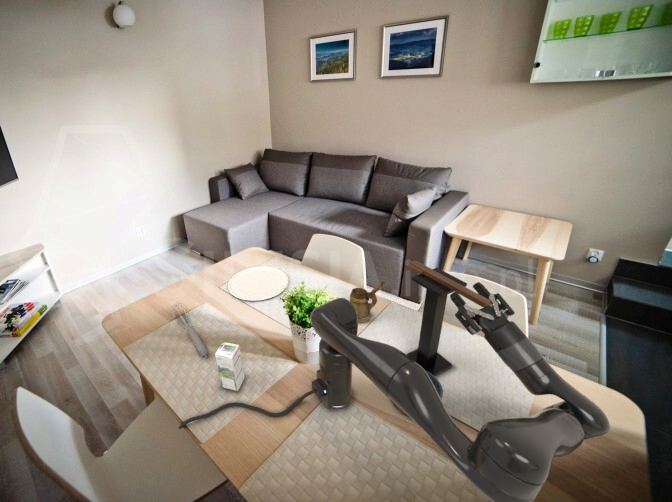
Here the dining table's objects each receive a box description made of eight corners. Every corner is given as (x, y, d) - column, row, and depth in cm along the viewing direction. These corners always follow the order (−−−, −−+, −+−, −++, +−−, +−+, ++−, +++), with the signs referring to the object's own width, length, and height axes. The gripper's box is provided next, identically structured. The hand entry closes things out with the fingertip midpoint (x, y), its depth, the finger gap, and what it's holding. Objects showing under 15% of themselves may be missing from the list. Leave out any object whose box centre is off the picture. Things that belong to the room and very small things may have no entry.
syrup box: (245, 377, 106) (239, 343, 100) (237, 392, 101) (231, 357, 95) (229, 373, 108) (223, 340, 102) (221, 388, 103) (214, 354, 97)
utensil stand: (424, 382, 99) (438, 295, 86) (399, 360, 108) (409, 277, 94) (452, 367, 103) (469, 282, 90) (426, 347, 112) (439, 266, 98)
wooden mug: (378, 329, 121) (381, 289, 114) (343, 318, 128) (344, 279, 121) (384, 315, 128) (387, 276, 121) (351, 306, 135) (352, 268, 127)
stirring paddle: (481, 308, 80) (482, 304, 79) (406, 266, 100) (407, 262, 99) (491, 304, 81) (492, 299, 80) (415, 263, 101) (416, 259, 100)
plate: (237, 309, 139) (237, 307, 138) (221, 277, 164) (221, 275, 163) (299, 291, 148) (298, 288, 147) (275, 262, 173) (274, 260, 172)
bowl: (415, 429, 86) (417, 413, 84) (380, 391, 97) (381, 377, 95) (450, 408, 91) (454, 392, 88) (413, 374, 102) (415, 360, 100)
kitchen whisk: (199, 364, 113) (196, 350, 110) (170, 315, 139) (167, 302, 137) (215, 355, 116) (212, 342, 113) (184, 309, 142) (181, 297, 140)
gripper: (543, 330, 76) (491, 273, 85) (503, 352, 71) (453, 289, 80) (520, 341, 82) (473, 287, 90) (481, 362, 77) (436, 303, 85)
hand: (464, 288), depth 85 cm, fingers open, 8 cm apart
